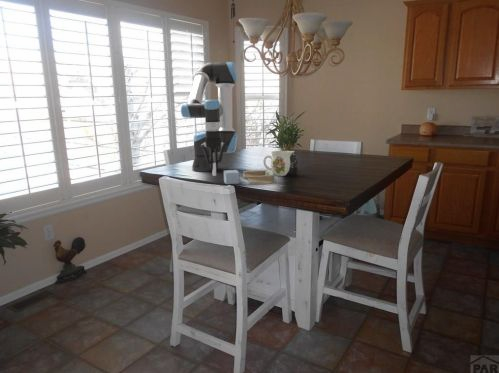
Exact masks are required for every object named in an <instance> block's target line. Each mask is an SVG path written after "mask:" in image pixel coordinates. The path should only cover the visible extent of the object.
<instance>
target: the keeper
mask: <svg viewBox="0 0 499 373" xmlns="http://www.w3.org/2000/svg"><path fill="white" fill-rule="evenodd" d="M223 183H224V184H226V185H236V184H237V185H238V184H240V171H238V170H237V169H233V170H232V169H228V170H223Z"/></svg>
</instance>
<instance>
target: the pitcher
mask: <svg viewBox="0 0 499 373" xmlns="http://www.w3.org/2000/svg"><path fill="white" fill-rule="evenodd" d="M294 153H295V151H293V150H275V151H271V155H265V156H264V159H263V166H264V168H266V170H267V171H272V172H273V173H272V174H273V175H274V176H276V177H277V176H278V177H283V176H287V174H289V171H290V168H291V159H290V158H291V156H292V154H294ZM267 158H269V159H270V166H271V167H269V166H268V165H267V163H266V160H267Z"/></svg>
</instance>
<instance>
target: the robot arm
mask: <svg viewBox="0 0 499 373" xmlns="http://www.w3.org/2000/svg"><path fill="white" fill-rule="evenodd" d="M236 67H237V66H236V64H235V63H234V62H232V61H210V62H206V63H204V64H202V65H201V66H199V67H198V68H197V70H196V71H195V72H194V74H193V85H192V87H191V90H190V94H189V97H188V99H187V103H186V102H185V103H182V104H181V107H180V114H181V116H182V118H184V119H185V118H187V119H196V118H197V119H198V118H199V119H200V118H204V119H205V120H204V122H205V130H206V131H202V132H196V133H194V135H193V152H194V153H193V154H194V158H193V162H192V165H191V169H192V171H194V172H203V173H204V172H212V176H213V177H214V176H215V177H217V170H218V169H219V163H221V162H222V160H223V154H229V153H235V151H236V149H237V145H238V140H239V138H238V134H237V133H236V131H235V129H234V128H233V87H235V85H236V84H235V83H237V82H238V74H237V68H236ZM210 83H215V85H214V86H216V87H217V99H206V100H205V101H204V100H203V99H204V97H205V92H206V89H207V86H208V85H209V84H210ZM203 101H204V102H203Z"/></svg>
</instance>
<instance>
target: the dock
mask: <svg viewBox="0 0 499 373" xmlns="http://www.w3.org/2000/svg"><path fill="white" fill-rule="evenodd" d="M242 174H243V175H242V179H243V180H248V185H260V184H261V185H264V184H274V183H275V174H274V173H272V172H270V170H268V169H260V170H244V171H242Z"/></svg>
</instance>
